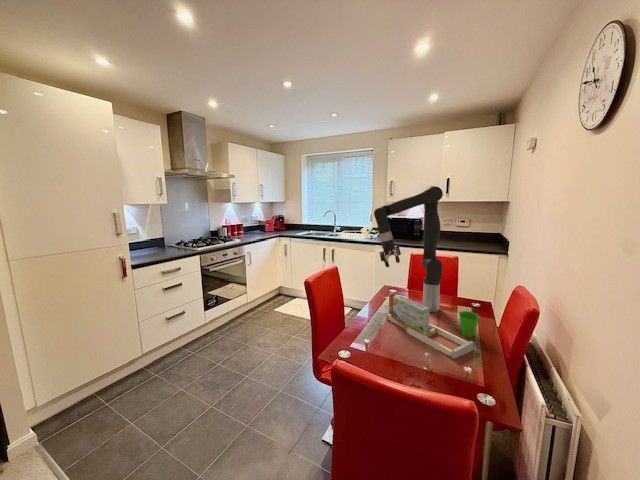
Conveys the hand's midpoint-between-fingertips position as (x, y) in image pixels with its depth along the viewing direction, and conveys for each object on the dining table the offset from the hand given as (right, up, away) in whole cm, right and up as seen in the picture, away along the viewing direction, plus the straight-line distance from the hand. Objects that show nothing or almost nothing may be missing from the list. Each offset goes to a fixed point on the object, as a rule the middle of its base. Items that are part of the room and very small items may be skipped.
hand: (393, 264), depth 162 cm
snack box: (+4, -33, -18) cm, 38 cm away
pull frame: (+4, -32, -16) cm, 36 cm away
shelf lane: (+13, -34, -32) cm, 49 cm away
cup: (+30, -33, -28) cm, 53 cm away
